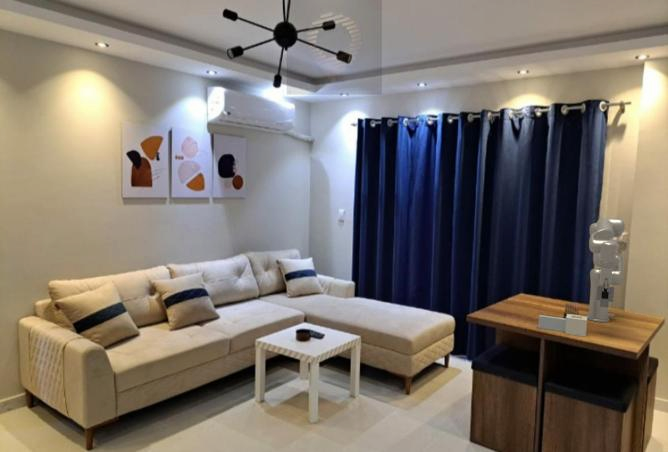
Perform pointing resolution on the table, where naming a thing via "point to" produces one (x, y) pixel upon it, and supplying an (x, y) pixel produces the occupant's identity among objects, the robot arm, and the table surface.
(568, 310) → the ammunition clip
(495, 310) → the table surface
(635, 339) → the table surface
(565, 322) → the headboard post
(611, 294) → the steel bracket
